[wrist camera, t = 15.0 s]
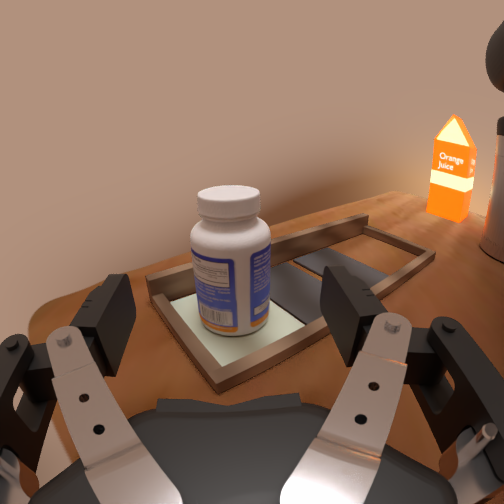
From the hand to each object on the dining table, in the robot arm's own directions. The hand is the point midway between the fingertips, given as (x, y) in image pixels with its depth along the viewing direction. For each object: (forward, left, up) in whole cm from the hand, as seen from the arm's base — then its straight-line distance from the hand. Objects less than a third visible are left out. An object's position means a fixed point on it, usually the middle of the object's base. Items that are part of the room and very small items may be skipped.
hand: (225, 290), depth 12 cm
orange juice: (-44, -35, -8) cm, 57 cm away
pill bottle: (0, -9, -8) cm, 12 cm away
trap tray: (-9, -14, -8) cm, 18 cm away
